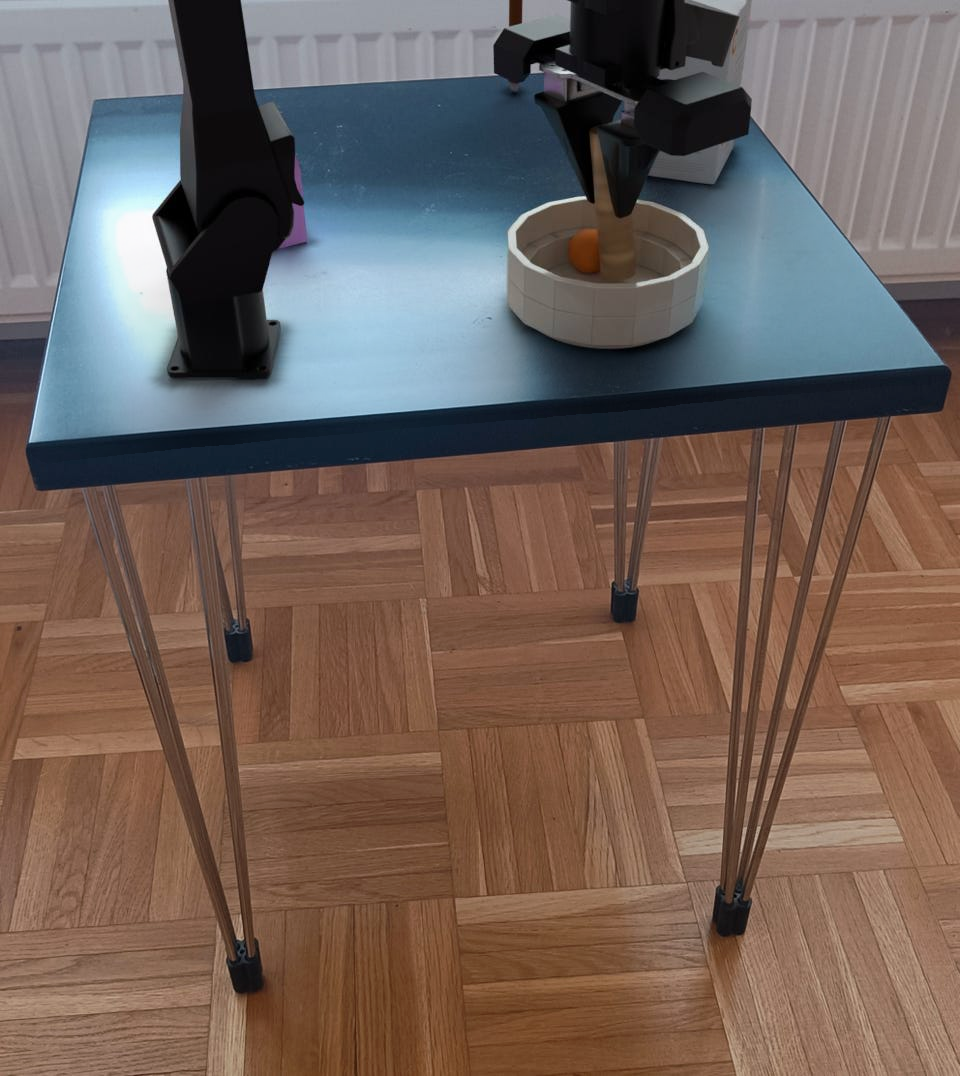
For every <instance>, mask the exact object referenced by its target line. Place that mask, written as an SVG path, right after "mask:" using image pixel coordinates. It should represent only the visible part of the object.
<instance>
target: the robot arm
mask: <svg viewBox="0 0 960 1076" xmlns="http://www.w3.org/2000/svg"><path fill="white" fill-rule="evenodd" d="M167 1H168V7H169V14H170V18H171V23H172V29H173V34H174V40H175V46H176V51H177V57H178V62H179V67H180V74H181V79H182V83H183V84H182V87H183V88H182V105H181V114H180V124H179V176H180V179H179V180H178V182H177V183H176V185H175V186H174V187H173V188H172V190H171V191H170V192H169V193H168V194H167V196H166V197H165V199H164V200H163V201H162V202H161V203H160V204H159V206H158V207H157V208H156V210H155V211H154V212H152V213H153V214H152V216H151V218H152V222H153V225H154V228H155V232H156V236H157V239H158V243H159V245H160V249H161V252H162V255H163V259H164V262H165V266H166V270H165V272H166V278H167V284H168V289H169V294H170V300H171V306H172V311H173V316H174V317H173V318H174V322H175V328H176V334H177V339H176V342H175V344H174V347H173V350H172V353H171V356H170V358H169V362H168V363H167V368H166V372H167V376H168V377H169V378H171V379H264V378H268V377H270V376H271V374H272V371H273V365H274V361H275V357H276V352H277V347H278V343H279V339H280V335H281V330H282V326H281V321H279V320H278V319H268V318H267V312H266V305H265V297H264V286H265V283H266V278H267V275H268V271H269V267H270V263H271V259H272V256H273V253H274V252H275V251H276V250H279V249H278V248H279V247H280V246H281V244H282V243H283V242H284V241H285V239H286V238H288V237H289V236H290V235H291V232H292V229H293V226H294V209H293V205H292V203H293V204H296V205H299V206H303V205H304V206H305V201H304V197H303V198H302V196H301V194H300V192H299V191H298V189H297V186H296V182H295V173H294V169H295V155H296V141H295V139H296V138H295V137H294V135H293V133H292V131H291V129H290V128H289V126H288V124H287V122H286V120H285V118H284V117H283V115H282V113H281V111H280V109H279V107H278V106H277V103H276V102H275V101H269V102H266V103H263V104H258V101H257V98H256V94H255V88H254V80H253V74H252V67H251V60H250V54H249V53H250V52H249V47H248V40H247V33H246V27H245V19H244V11H243V5H242V0H167ZM566 1H568V2H570V12H569V13H570V18H567V17H564V16H562V15H559V14H554V15H549V16H545V17H541V18H538V19H534V20H530V21H526V22H522V24H518V25H514V26H510V27H509V26H507V27H504V28H503V29H502V31H501V32H500V34H499V36H498V37H497V38H496V40H495V41H494V43H493V45H492V49H493V50H492V51H493V54H492V55H493V74H495V75H497V76H499V77H501V78H503V79H506V80H507V81H508V80H510V81H512V82H514V83H516V84H517V83H523V82H525V81H526V79H527V78H528V77H529V76H530V74H531V72H532V65H535V64H539V67H538V70H539V71H540V72H543V91H540V92H537V93H535V94H534V95H533V101H534V104H535V105H536V106H538V107H540V108H541V110H542V111H543V112H542V113H544V114H543V115H545V117H546V119H547V121H548V123H549V125H550V126H551V129H552V131H553V132H554V134H555V136H556V137H557V140H558V142H559V143H560V145H561V147H562V149H563V152H564V154H565V156H566V157H567V160H568V162H569V164H570V166H571V168H572V170H573V173H574V174H575V177H576V178H577V181H578V183H579V185H580V187H581V189H582V192H583V194H584V196H586V198H587V200H588V202H590V203H592V204H595V198H594V185H593V173H592V161H591V148H590V136H589V131H590V129H591V128H593V127H595V126H598V125H601V126H598V127H597V132H598V137H599V142H600V148H601V153H602V157H603V162H604V168H605V173H606V178H607V183H608V188H609V193H610V198H611V202H612V206H613V209H614V213H615V216H616V217H618V218H624V217H626V216H629V215H630V214H631V213H632V211H633V209H634V207H635V204H636V202H637V200H639V197H640V195H641V192H642V190H643V188H644V186H645V184H646V181H647V179H648V174H649V172H650V170H651V168H652V165H653V163H654V161H655V159H656V157H657V155H658V154H659V152H660V151H662V152H664V153H666V154H668V155H671V156H686V155H689V154H692V153H695V152H698V151H701V150H704V149H707V148H710V147H713V146H716V145H719V144H722V143H725V142H728V141H731V140H734V141H735V140H736V139H740V138H742V137H746V136H748V135H749V132H750V124H751V113H752V105H753V104H752V102H753V99H752V97H751V96H750V94H749V93H748V92H747V91H746V90H745V88H744V87H743V86H738V85H735V84H733V83H730V82H728V81H725V80H723V79H720V78H718V77H715V76H712V75H710V74H707V73H705V72H700V73H697V74H693V75H690V76H687V77H684V78H680V79H677V80H671V79H662V80H661V79H658V78H657V77H658V76H659V74H660V70H662V69H669V70H674V69H678V68H681V67H684V66H685V61H686V56H687V57H692V58H696V59H701V60H706V61H711V63H712V65H714V66H718V67H723V65H724V62H725V59H726V56H727V53H728V50H729V47H730V44H731V41H732V38H733V35H734V32H735V29H736V26H737V23H738V20H739V16H737V15H735V14H732V13H729V12H726V11H723V10H720V9H717V8H714V7H711V6H708V5H705V4H702V3H699V2H696V1H693V0H566ZM622 103H623V110H621V111H620V118H619V119H617V120H614V117H615V115H616V113H617V111H618V110H619V108H620V106H621V104H622ZM602 124H604V125H602Z"/></svg>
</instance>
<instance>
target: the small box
mask: <svg viewBox="0 0 960 1076" xmlns="http://www.w3.org/2000/svg"><path fill="white" fill-rule="evenodd" d="M693 1H696V2H699V3H702V4H705V5H708V6H711V7H714V8H717V9H720V10H723V11H726V12H729V13H732V14H735V15H737V16H739V20H738V23H737V26H736V29H735V32H734V35H733V38H732V41H731V44H730V47H729V50H728V53H727V56H726V59H725V62H724V65H723V67H718V66H714V65H712V63H711V61H706V60H701V59H696V58H692V57H687V56H686V61H685V66H684V67H681V68H678V69H674V70H669V69H662V70H660V74H659V76H658V77H657V78H658V79H661V80H662V79H671V80H677V79H680V78H684V77H687V76H690V75H693V74H697V73H700V72H705V73H707V74H710V75H712V76H715V77H718V78H720V79H723V80H725V81H728V82H730V83H733V84H735V85H738V86H740V87H742V86H741V84H742V77H743V70H744V64H745V57H746V49H747V43H748V34H749V25H750V19H751V18H750V17H751V12H752V11H751V10H752V4H753V3H752V2H753V0H693ZM734 143H735V139H734V140H731V141H728V142H725V143H722V144H719V145H716V146H713V147H710V148H707V149H704V150H701V151H698V152H695V153H692V154H689V155H686V156H671V155H668V154H666V153H664V152H662V151H660V152H659V154H658V155H657V157H656V159H655V161H654V163H653V165H652V168H651V170H650V172H649V174H648V176H649V177H655V178H662V179H670V180H675V181H682V182H683V181H684V182H689V183H690V182H691V183H697V184H705V185H714V184H716V182H717V180H718V178H719V176H720V174H721V172H722V171H723V168H724V166H725V164H726V163H727V161H728V159H729V157H730V154H731V153H732V150H733V149H734Z"/></svg>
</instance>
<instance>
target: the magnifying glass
mask: <svg viewBox="0 0 960 1076" xmlns="http://www.w3.org/2000/svg"><path fill="white" fill-rule="evenodd" d="M523 3H524V2H523V0H508V27H510V26H514V25H518V24H522V23H523ZM507 81H508V82H509V83H510V90H511V92H513V93H516V92H518V91H519V87H520V86H519V85H520V84H519V83H517V84H516V83H514V82H512V81H510V80H508V79H507Z"/></svg>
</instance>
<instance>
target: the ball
mask: <svg viewBox="0 0 960 1076" xmlns="http://www.w3.org/2000/svg"><path fill="white" fill-rule="evenodd" d="M568 254H569V259H570V261H571V263H572V264H573V266H574V267H575V268H577V269H578V270H580V271H582V272H585V273H593V272H597V271H599V270H600V259H599V247H598V235H597V230H595V229H585V230H582V231H580V232H578V233H577V234H576V235H575V236H574V237H573V238H572V240H571V242H570V244H569V248H568Z"/></svg>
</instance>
